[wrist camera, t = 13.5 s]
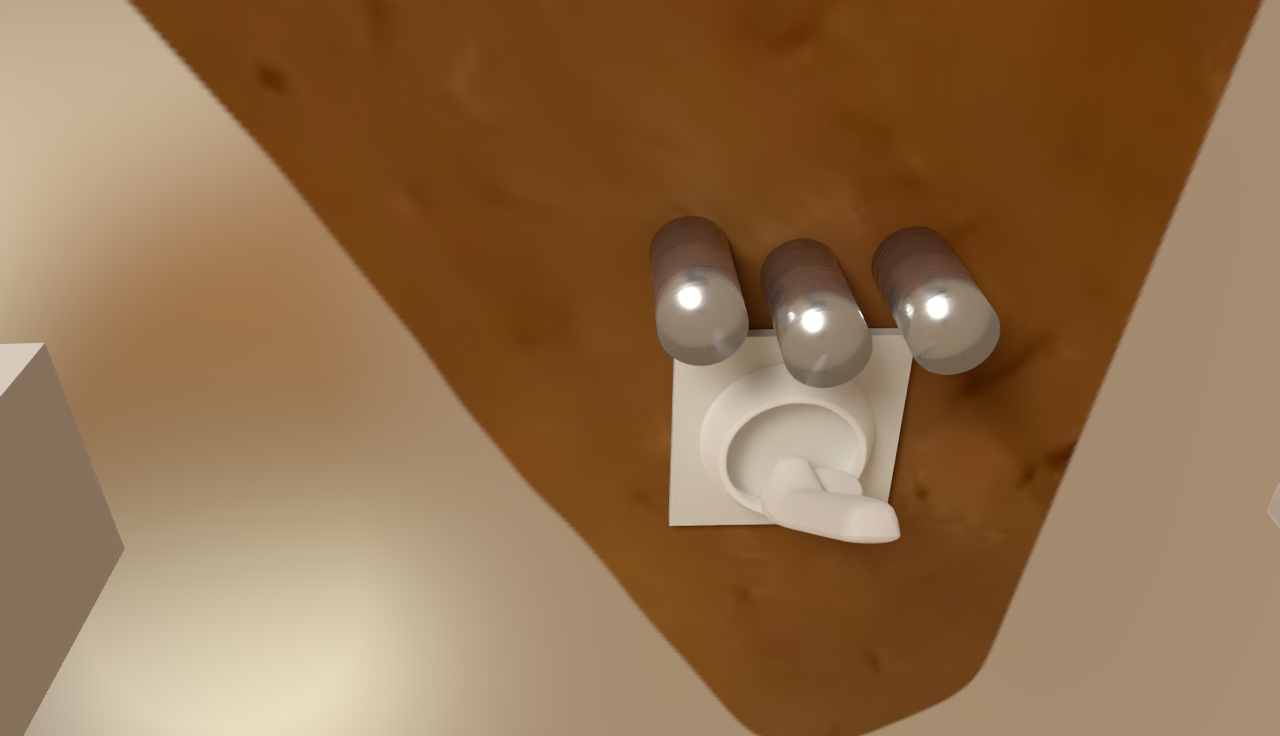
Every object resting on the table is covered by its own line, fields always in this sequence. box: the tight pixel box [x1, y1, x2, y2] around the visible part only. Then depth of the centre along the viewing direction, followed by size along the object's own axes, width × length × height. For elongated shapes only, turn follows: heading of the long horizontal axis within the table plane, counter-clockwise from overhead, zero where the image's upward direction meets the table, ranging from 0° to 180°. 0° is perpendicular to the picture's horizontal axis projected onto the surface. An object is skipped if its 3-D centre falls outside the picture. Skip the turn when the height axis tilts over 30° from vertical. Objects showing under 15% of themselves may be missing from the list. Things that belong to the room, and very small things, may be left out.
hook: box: [700, 364, 900, 543], centre depth 42 cm, size 8×12×7 cm
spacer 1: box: [649, 216, 749, 366], centre depth 39 cm, size 3×3×6 cm
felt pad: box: [669, 328, 913, 526], centre depth 46 cm, size 10×10×1 cm
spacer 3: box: [872, 226, 1000, 375], centre depth 40 cm, size 3×3×6 cm
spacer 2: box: [760, 239, 873, 388], centre depth 40 cm, size 3×3×6 cm
